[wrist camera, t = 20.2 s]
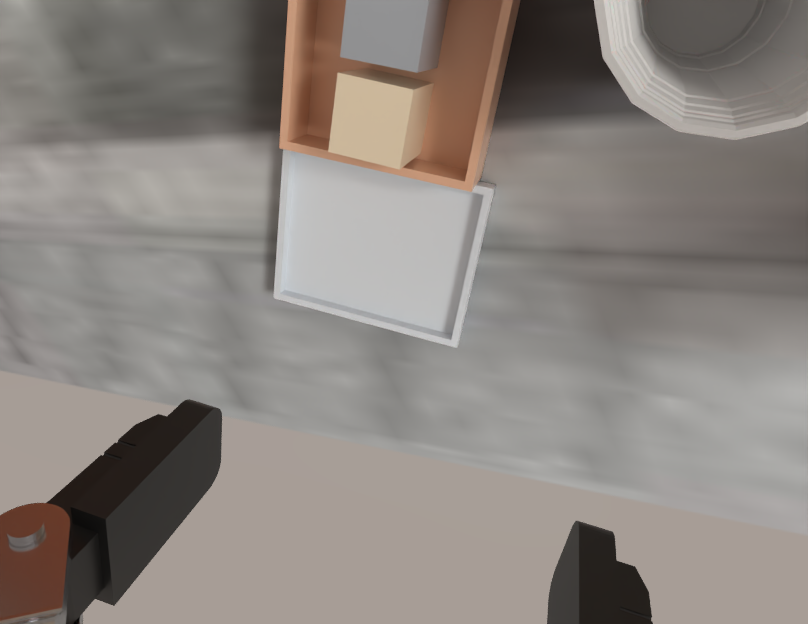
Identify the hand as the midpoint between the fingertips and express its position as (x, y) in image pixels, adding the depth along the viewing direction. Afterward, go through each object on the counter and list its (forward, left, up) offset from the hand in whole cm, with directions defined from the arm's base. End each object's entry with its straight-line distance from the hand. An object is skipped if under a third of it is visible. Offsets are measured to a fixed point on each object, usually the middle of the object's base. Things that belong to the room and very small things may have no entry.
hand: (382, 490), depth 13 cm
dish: (+8, -6, -28) cm, 30 cm away
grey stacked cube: (+8, -8, -27) cm, 29 cm away
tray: (+8, +6, -28) cm, 30 cm away
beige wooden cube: (+8, -4, -27) cm, 28 cm away
